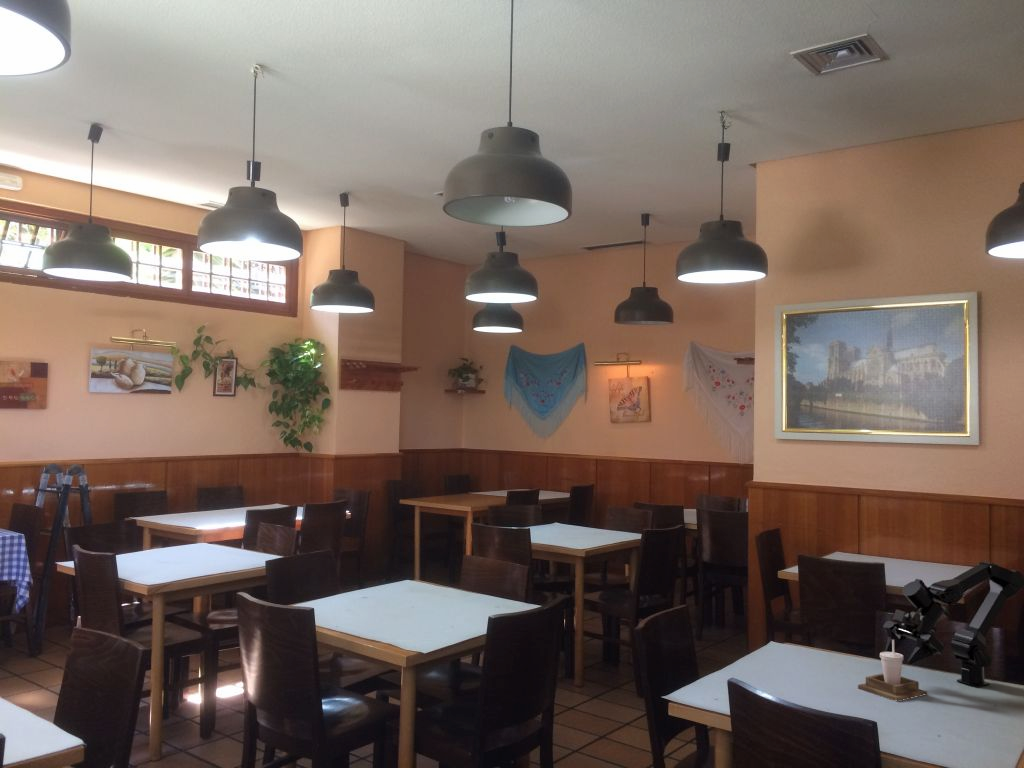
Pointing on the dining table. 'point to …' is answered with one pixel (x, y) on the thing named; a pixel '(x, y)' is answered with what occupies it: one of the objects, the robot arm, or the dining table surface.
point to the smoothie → (892, 666)
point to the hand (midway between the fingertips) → (896, 658)
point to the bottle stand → (892, 687)
